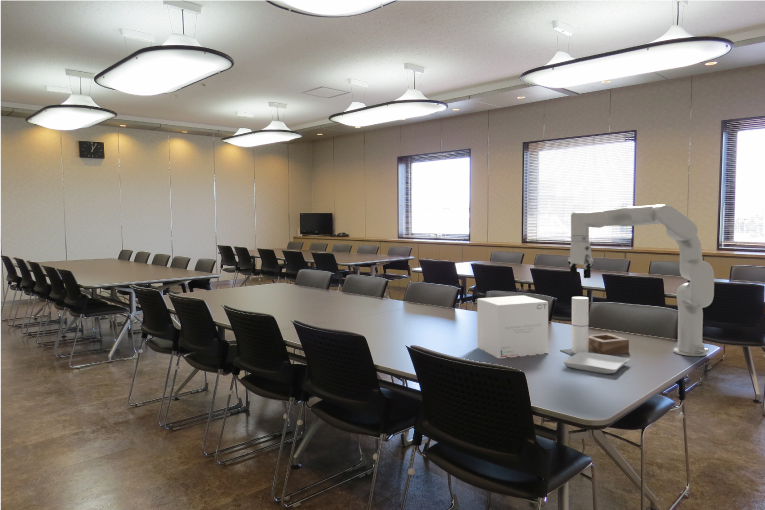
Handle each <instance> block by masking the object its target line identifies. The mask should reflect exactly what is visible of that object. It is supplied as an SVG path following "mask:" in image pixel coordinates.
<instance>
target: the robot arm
mask: <svg viewBox="0 0 765 510" xmlns="http://www.w3.org/2000/svg"><path fill="white" fill-rule="evenodd" d="M659 224H660V225H662V226H664V227H665V234H666V235H667V236H668V237H669V238H670V239H673V240H674V241H675V243H676V244H677V246H678V250H679V274H680V276H681V277H682V278H683V279H684V280H685V279H686V280H687V281H689V282H686V283H683V284H681V285H679V286H678V287H677V290H676V301H677V311H678V312H677V314H678V315H677V316H678V317H677V347H674V348H673V352H674V353H675V354H677V355H681V356H682V355H683V356H687V357H704V356H706V355H707V353H709V348H705V344H703V323H704V321H703V319H704V312H703V311H704V310H703V308H707V307H708V306H710V305H711V304H712V303H713V300H714V297H715V272H714V268H713V266H712V265H711V264H710V263H709V262H707V261H705V260H703V253H702V251H703V250H702V243H701V240H700V238H699V237H698V231H699V230H698V227H697V224H695V222H694V221H693V220H691V219H690V218H688V217H687V216H686V215H684V214H683V213H682V212H681V211H679V210H678V209H676V207H674V206H672V205H669V204H652V205H651V204H650V205H639V206H626V207H621V208H615V209H603V210H591V211H589V212H587V211H575V212H572V213H571V214H570V246H569V247H570V249H569V256H568V257H567V263H568V265H569V276H570V277H576V276H577V275H578V267H577V265H581V266H583V279H591V277H592V276H591V275H592V274H591V273H592V272H591V271H592V267H593V264H594V258H593V257H592V248H591V243H590V235H589V234H590V228H604V227H612V226H613V227H614V226H615V227H616V226H617V227H618V226H619V227H633V226H645V225H646V226H648V225H659Z"/></svg>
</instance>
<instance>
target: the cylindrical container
mask: <svg viewBox="0 0 765 510" xmlns="http://www.w3.org/2000/svg"><path fill="white" fill-rule="evenodd" d="M589 299H590V298H589V297H587V296H572V297H571V349H572V352H573V353H578V352H586V353H588V335H589V309H590V308H589V305H590V304H589V302H590V301H589Z"/></svg>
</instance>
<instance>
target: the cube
mask: <svg viewBox="0 0 765 510" xmlns="http://www.w3.org/2000/svg"><path fill="white" fill-rule="evenodd" d="M476 300H477V301H476V303H477V306H476V307H477V308H476V309H477V313H476V315H477V316H476V317H477V348H478V349H480V350H481V351H483V350H484V351H483V352H485V353H487V354H489V355H492V356H493V357H495V358H497V359H499V358H500V359H507V358H506V357H510V358H518V357H517V356H520V357H527V356H526V355H529V356H537V355H536V354H539V355H545V354H544V353H548V354H549V301H547V300H544V299H543V300H542V299H540V298H535V297H532V296H528V295H525V294H524V295H509V296H507V295H506V296H495V297H493V296H492V297H481V298H480V297H479V298H477V299H476Z"/></svg>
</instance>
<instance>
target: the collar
mask: <svg viewBox="0 0 765 510" xmlns="http://www.w3.org/2000/svg"><path fill="white" fill-rule="evenodd" d="M588 350H590V351H593V352H595V353H598V354H603V355H610V356H611V355H618V354H627V353H630V339H629V338H625V337H622V336H618V335H615V334H612V333H609V332H608V333H607V332H606V333H599V334H598V333H596V334H588Z"/></svg>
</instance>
